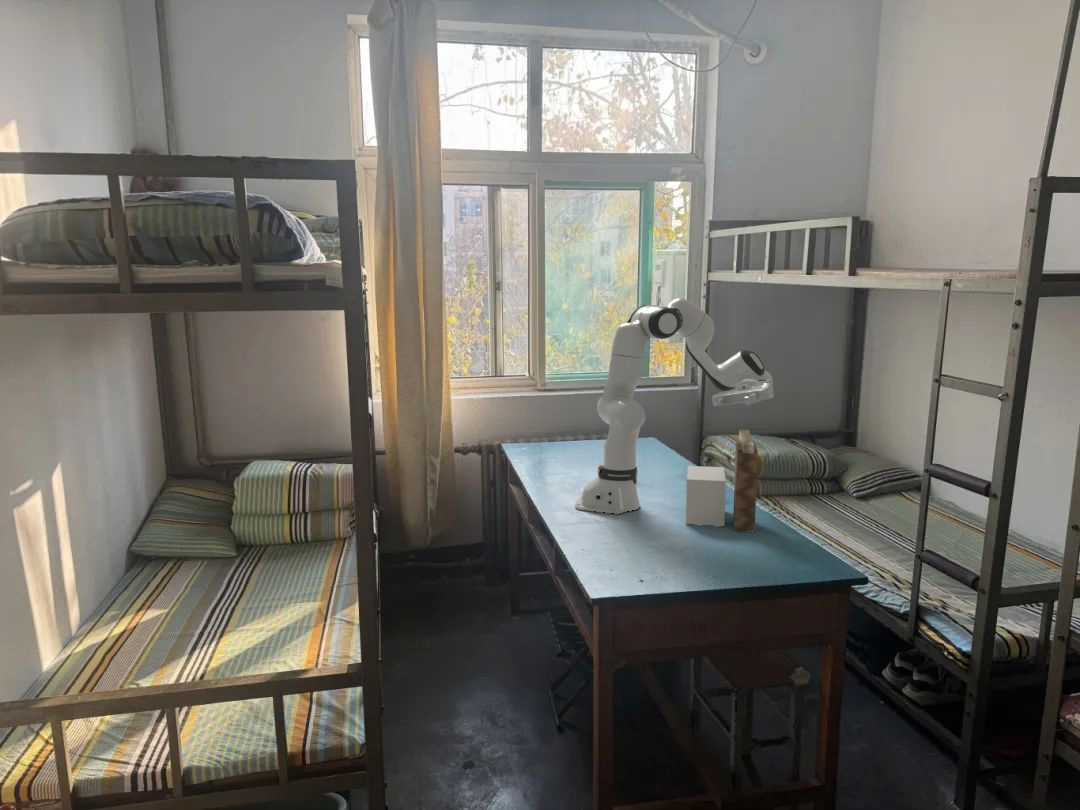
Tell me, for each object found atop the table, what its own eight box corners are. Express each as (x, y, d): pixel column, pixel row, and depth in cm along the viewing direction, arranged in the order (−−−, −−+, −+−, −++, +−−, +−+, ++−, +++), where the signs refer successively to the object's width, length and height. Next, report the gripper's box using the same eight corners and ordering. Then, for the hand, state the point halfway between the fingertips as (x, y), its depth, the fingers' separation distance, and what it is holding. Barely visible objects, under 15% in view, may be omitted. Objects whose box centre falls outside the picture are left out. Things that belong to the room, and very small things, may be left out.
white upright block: (685, 524, 234) (686, 479, 231) (686, 508, 251) (687, 465, 249) (724, 526, 231) (725, 481, 229) (722, 510, 249) (723, 467, 246)
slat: (743, 453, 218) (743, 444, 218) (738, 437, 242) (739, 429, 241) (753, 453, 218) (753, 445, 217) (748, 437, 241) (748, 430, 241)
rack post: (734, 531, 227) (737, 449, 223) (733, 521, 236) (735, 443, 232) (754, 532, 226) (757, 450, 221) (752, 522, 235) (755, 443, 231)
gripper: (718, 387, 260) (703, 396, 249) (774, 378, 247) (760, 388, 236) (722, 403, 261) (707, 414, 250) (778, 396, 248) (764, 407, 237)
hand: (733, 401), depth 243 cm, fingers open, 8 cm apart
